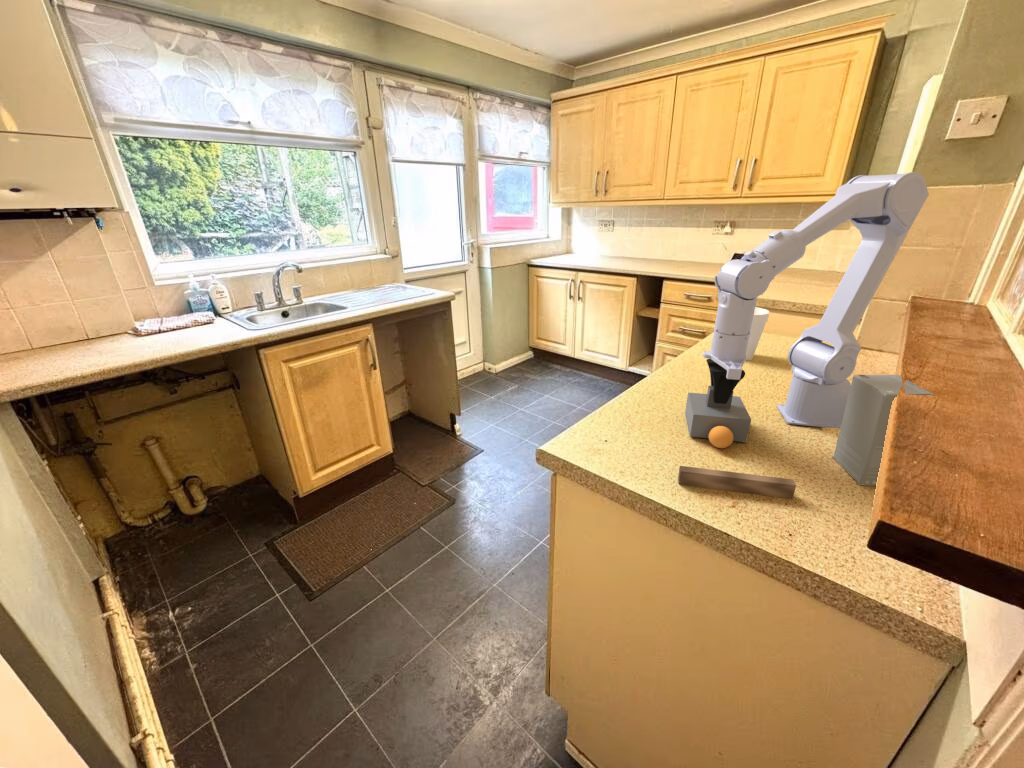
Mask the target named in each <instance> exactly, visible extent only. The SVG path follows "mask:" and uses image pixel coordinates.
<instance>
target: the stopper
mask: <svg viewBox="0 0 1024 768" xmlns="http://www.w3.org/2000/svg"><path fill="white" fill-rule="evenodd" d="M677 482H678V485H682V486H684V485H685V486H691V487H699V488H705V489H706V488H707V489H714V490H722V491H729V492H735V493H744V494H750V495H751V494H753V495H758V496H767V497H774V498H780V499H781V498H783V499H789V500H793V499H794V495H795V491H796V489H797V484H796V482H795V480H794V479H793V478H785V477H777V476H776V477H775V476H767V475H762V474H761V475H759V474H751V473H743V472H736V471H726V470H719V469H711V468H710V469H709V468H702V467H695V466H694V467H692V466H686V465H679V469H678V476H677Z"/></svg>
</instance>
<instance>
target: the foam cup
mask: <svg viewBox="0 0 1024 768" xmlns="http://www.w3.org/2000/svg"><path fill="white" fill-rule="evenodd" d="M769 316H770V311H769V309H766V308H763V307H757V306H755V311H754V316H753V321H752V326H751V330H750V335H749V340H748V345H747V350H746V361H751V360H753V358H754V356H755V353H756V350H757V348H758V346H759V345H758V344H759V342H760V341H761V340H760V339H761V337H762V334H763V332H764V330H765V327H766V324H767V323H768V319H769Z"/></svg>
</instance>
